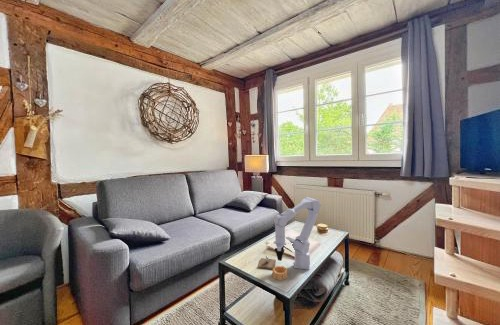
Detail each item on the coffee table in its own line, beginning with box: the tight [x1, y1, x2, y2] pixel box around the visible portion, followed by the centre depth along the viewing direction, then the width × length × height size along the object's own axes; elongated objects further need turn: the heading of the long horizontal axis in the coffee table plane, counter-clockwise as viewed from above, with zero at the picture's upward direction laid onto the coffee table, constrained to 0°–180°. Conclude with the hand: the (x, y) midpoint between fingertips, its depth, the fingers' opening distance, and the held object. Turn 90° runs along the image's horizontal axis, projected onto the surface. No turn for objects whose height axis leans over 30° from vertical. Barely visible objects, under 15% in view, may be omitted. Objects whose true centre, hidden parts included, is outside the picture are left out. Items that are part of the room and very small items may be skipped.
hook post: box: [265, 255, 270, 264], centre depth 137 cm, size 2×2×4 cm
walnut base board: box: [257, 257, 277, 271], centre depth 137 cm, size 10×10×1 cm
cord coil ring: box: [272, 265, 288, 281], centre depth 125 cm, size 8×8×4 cm
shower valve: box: [285, 236, 296, 243], centre depth 161 cm, size 12×6×15 cm
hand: (280, 256), depth 128 cm, fingers open, 7 cm apart
